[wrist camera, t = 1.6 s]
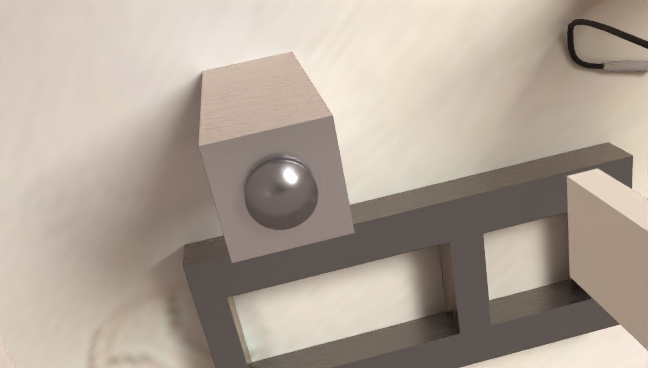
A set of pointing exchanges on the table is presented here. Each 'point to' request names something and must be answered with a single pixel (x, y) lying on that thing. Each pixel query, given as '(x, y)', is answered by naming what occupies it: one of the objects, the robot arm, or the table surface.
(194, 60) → the table surface
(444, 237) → the grey flat frame
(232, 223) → the grey tall block
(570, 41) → the multimeter
